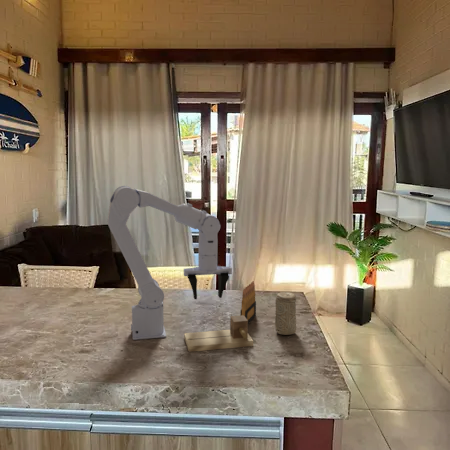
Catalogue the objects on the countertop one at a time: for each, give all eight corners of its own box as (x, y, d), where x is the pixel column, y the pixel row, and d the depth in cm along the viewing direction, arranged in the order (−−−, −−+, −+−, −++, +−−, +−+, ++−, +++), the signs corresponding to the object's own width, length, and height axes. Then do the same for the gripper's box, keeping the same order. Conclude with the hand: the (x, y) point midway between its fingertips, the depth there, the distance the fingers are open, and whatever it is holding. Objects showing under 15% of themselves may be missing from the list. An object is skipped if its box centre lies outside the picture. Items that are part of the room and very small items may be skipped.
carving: (291, 327, 130) (292, 290, 129) (299, 337, 123) (301, 298, 121) (271, 328, 129) (272, 291, 128) (278, 338, 122) (279, 298, 120)
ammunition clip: (245, 327, 131) (246, 289, 129) (239, 326, 131) (240, 288, 130) (255, 315, 141) (256, 280, 139) (250, 314, 141) (251, 279, 140)
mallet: (238, 346, 114) (238, 329, 113) (230, 332, 122) (230, 316, 121) (252, 345, 114) (253, 327, 114) (243, 331, 123) (243, 315, 122)
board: (188, 351, 113) (188, 346, 113) (184, 338, 122) (184, 333, 122) (253, 345, 117) (253, 340, 117) (244, 333, 126) (244, 328, 126)
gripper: (185, 257, 122) (185, 303, 124) (234, 256, 125) (233, 300, 127) (182, 252, 128) (182, 295, 130) (229, 251, 132) (228, 293, 134)
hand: (207, 297), depth 129 cm, fingers open, 7 cm apart
